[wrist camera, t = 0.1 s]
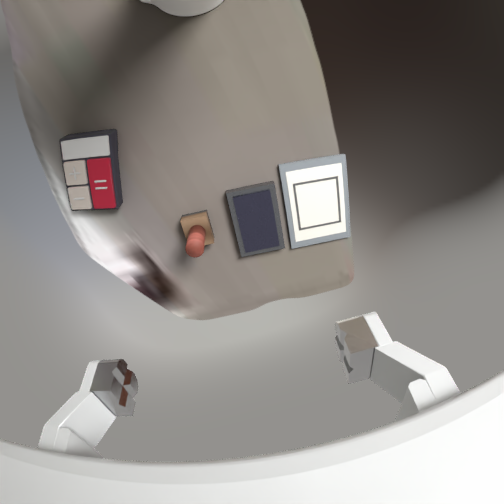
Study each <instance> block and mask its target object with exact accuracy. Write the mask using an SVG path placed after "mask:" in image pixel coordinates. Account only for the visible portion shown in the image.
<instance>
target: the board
mask: <svg viewBox="0 0 504 504" xmlns="http://www.w3.org/2000/svg"><path fill="white" fill-rule="evenodd" d="M278 166H279V172H280V178H281V184H282V190H283V196H284V203H285V209H286V216H287V222H288V229H289V236H290V243H291V248H292V249H293V248H298V247H303V246H308V245H313V244H317V243H322V242H327V241H332V240H337V239H341V238H346V237H350V214H349V195H348V181H347V169H346V158H345V154H339V155H333V156H326V157H319V158H313V159H307V160H301V161H295V162H290V163H284V164H279V165H278Z"/></svg>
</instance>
